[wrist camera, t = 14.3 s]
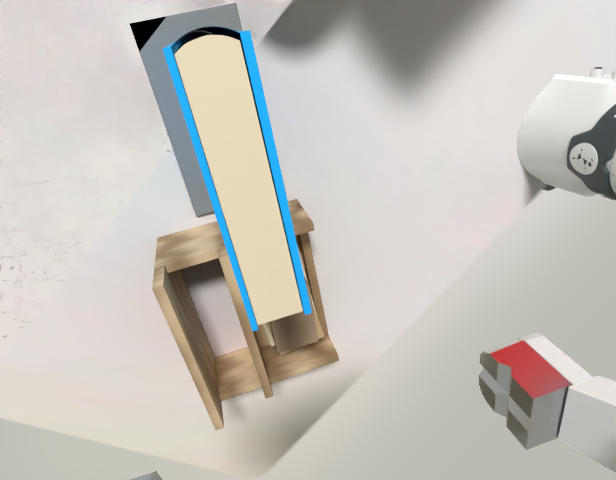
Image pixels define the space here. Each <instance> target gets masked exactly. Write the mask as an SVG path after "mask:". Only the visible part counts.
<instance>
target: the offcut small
mask: <svg viewBox="0 0 616 480" xmlns="http://www.w3.org/2000/svg"><path fill="white" fill-rule="evenodd" d="M304 279H305V283H306V288H307V292H308V297H309V301H310V306H311V310H312V313H310V314H307V315H305V313H304V311H302V312H299V313H296V314H293V315H289V316H286V317H283V318H280V319H276V320H273V321H270V322H269V323H270V327H271V331H272V336H273V340H274V343H275V347H276V350H277V353H281V352H284V351H287V350H291V349H294V348H298V347H301V346H304V345H308V344H311V343H314V342H318V336H317V330H316V323H315V317H314V311H313V304H312V298H311V291H310V286H309V284H308V282H307V280H306V278H305V276H304Z"/></svg>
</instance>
